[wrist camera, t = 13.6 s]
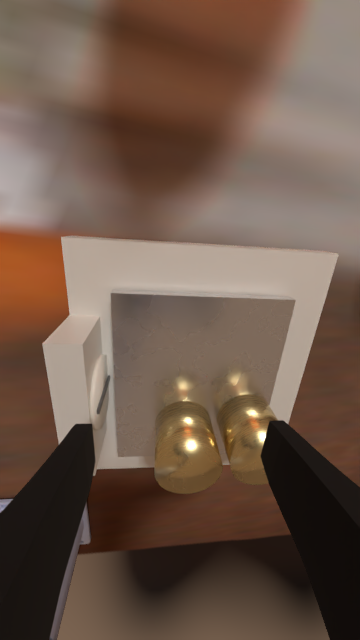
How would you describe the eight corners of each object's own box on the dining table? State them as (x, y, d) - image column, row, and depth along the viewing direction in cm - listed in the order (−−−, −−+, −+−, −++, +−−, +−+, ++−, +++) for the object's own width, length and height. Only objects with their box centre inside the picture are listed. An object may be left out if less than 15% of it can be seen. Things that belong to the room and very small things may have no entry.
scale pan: (119, 446, 21) (117, 457, 20) (113, 288, 16) (110, 293, 15) (253, 443, 22) (257, 452, 21) (288, 295, 17) (295, 300, 16)
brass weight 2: (268, 433, 20) (293, 479, 17) (217, 440, 20) (230, 488, 16) (272, 391, 19) (300, 432, 15) (216, 398, 18) (231, 441, 15)
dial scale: (92, 452, 24) (72, 522, 18) (70, 235, 16) (25, 242, 11) (268, 447, 25) (299, 509, 20) (322, 250, 18) (394, 263, 12)
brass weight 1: (155, 444, 20) (154, 496, 16) (155, 401, 18) (154, 447, 14) (207, 442, 20) (219, 491, 16) (212, 400, 19) (226, 444, 15)
